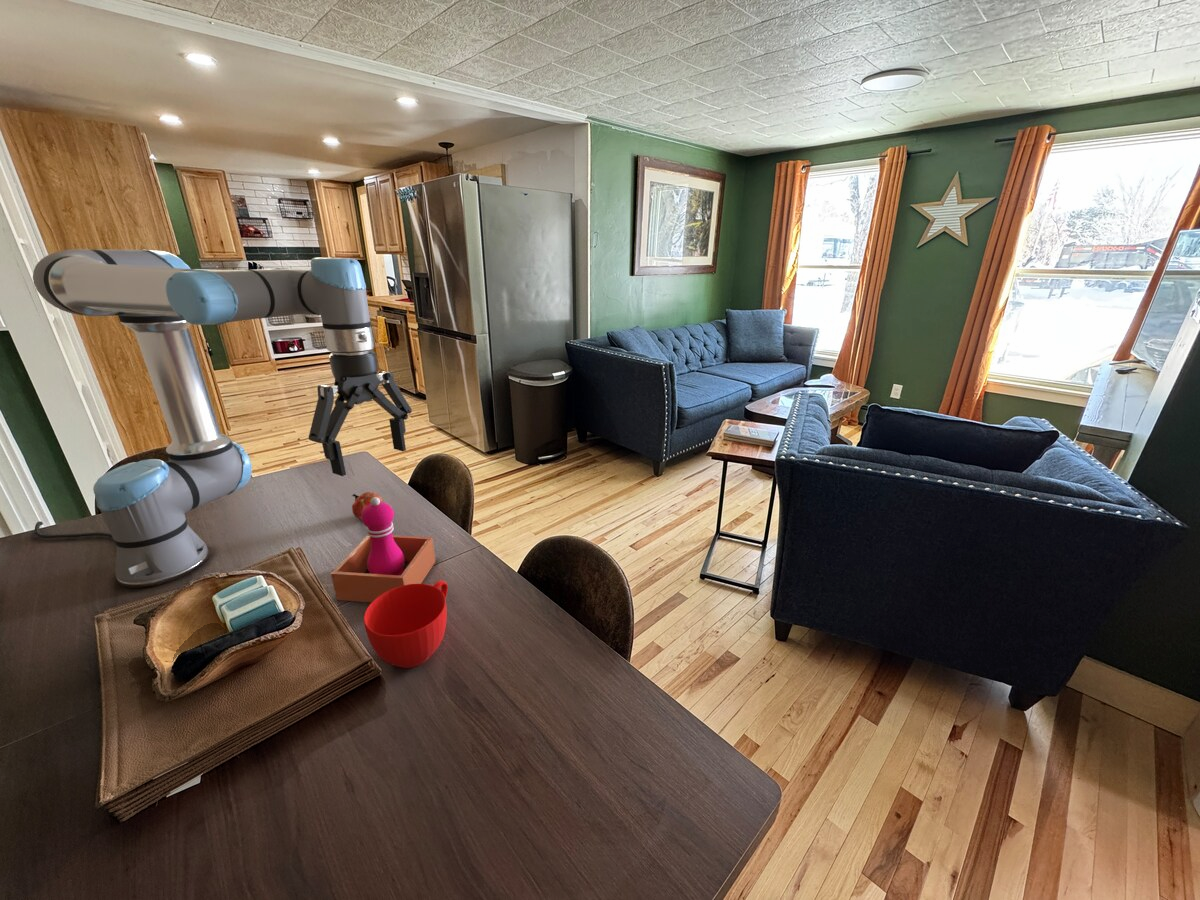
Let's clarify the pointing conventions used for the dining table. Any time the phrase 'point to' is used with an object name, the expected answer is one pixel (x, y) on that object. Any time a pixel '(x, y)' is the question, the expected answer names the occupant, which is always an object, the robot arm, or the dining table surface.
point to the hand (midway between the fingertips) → (371, 461)
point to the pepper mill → (382, 539)
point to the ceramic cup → (407, 623)
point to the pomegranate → (362, 503)
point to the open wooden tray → (368, 587)
